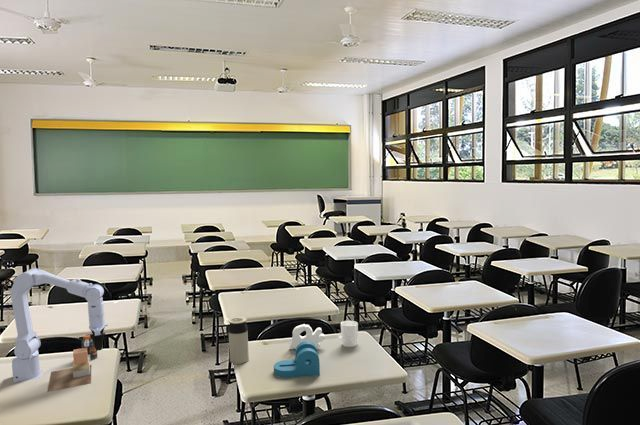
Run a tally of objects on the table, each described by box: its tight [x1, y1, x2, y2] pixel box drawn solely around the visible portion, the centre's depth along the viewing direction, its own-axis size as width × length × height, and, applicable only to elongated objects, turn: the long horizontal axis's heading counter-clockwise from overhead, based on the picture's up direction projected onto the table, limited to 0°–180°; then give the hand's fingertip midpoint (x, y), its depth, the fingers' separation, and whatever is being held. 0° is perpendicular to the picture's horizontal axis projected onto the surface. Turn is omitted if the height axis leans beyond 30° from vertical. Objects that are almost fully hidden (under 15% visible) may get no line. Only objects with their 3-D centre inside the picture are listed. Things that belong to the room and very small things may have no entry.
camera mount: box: [273, 341, 321, 379], centre depth 195 cm, size 18×10×10 cm, turn 95°
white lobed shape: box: [288, 323, 326, 350], centre depth 219 cm, size 3×15×11 cm, turn 92°
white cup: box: [340, 320, 359, 348], centre depth 222 cm, size 8×8×10 cm
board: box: [46, 364, 92, 393], centre depth 195 cm, size 15×20×1 cm
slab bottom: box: [73, 367, 90, 378], centre depth 198 cm, size 6×6×2 cm
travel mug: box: [227, 316, 250, 365], centre depth 207 cm, size 8×8×18 cm
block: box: [72, 347, 88, 365], centre depth 198 cm, size 5×5×4 cm
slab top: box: [72, 358, 91, 372], centre depth 198 cm, size 6×6×2 cm
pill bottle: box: [81, 332, 98, 362], centre depth 213 cm, size 6×6×11 cm
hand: (98, 347), depth 200 cm, fingers open, 7 cm apart
